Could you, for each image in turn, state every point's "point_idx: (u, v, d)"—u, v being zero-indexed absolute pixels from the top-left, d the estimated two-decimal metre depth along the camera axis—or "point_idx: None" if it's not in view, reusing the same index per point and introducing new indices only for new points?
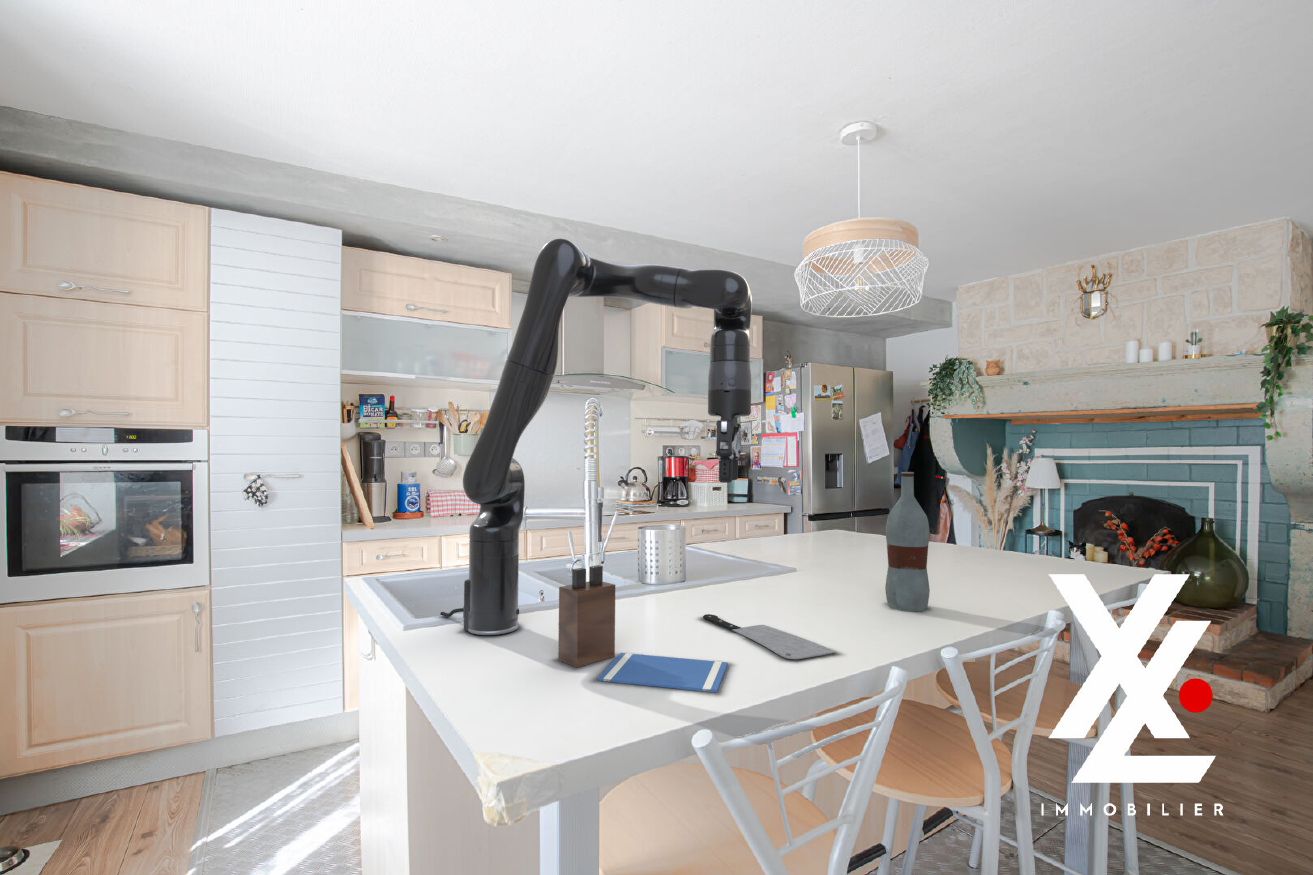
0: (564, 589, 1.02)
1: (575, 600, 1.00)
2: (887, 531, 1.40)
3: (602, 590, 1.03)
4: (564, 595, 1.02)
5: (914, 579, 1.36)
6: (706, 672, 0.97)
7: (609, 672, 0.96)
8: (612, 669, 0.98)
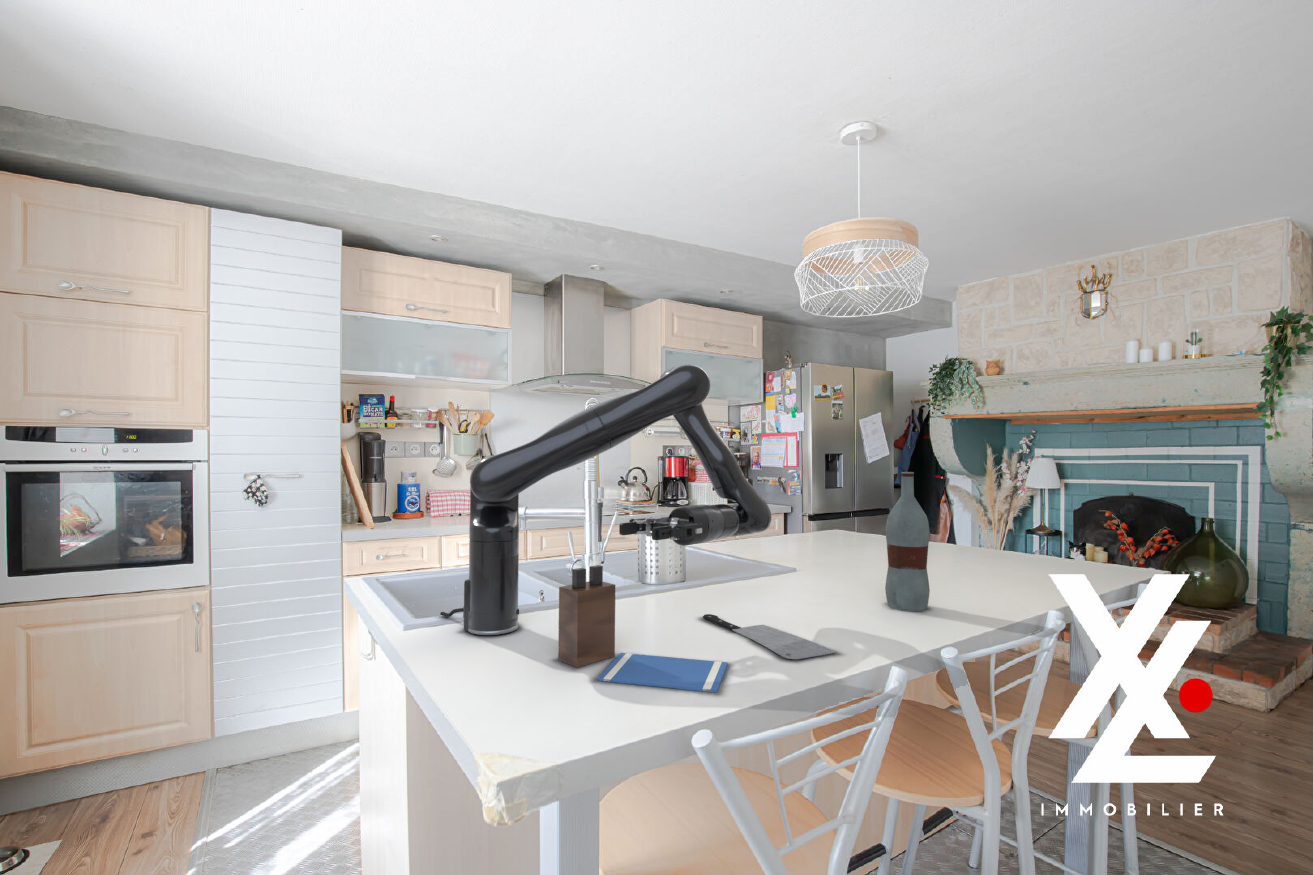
0: (564, 589, 1.02)
1: (575, 600, 1.00)
2: (887, 531, 1.40)
3: (602, 590, 1.03)
4: (564, 595, 1.02)
5: (914, 579, 1.36)
6: (706, 672, 0.97)
7: (609, 672, 0.96)
8: (612, 669, 0.98)
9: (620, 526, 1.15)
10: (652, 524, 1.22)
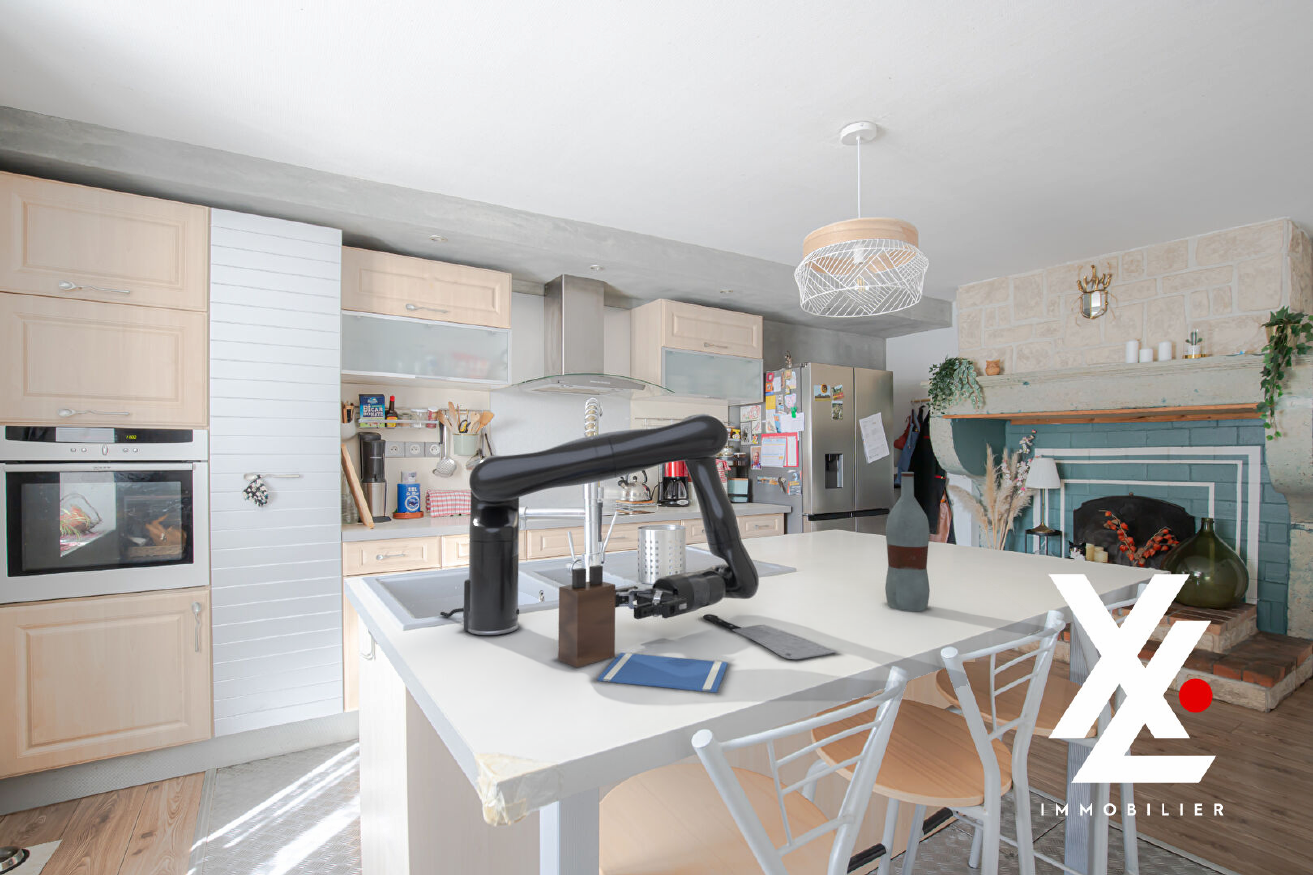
0: (564, 589, 1.02)
1: (575, 600, 1.00)
2: (887, 531, 1.40)
3: (602, 590, 1.03)
4: (564, 595, 1.02)
5: (914, 579, 1.36)
6: (706, 672, 0.97)
7: (609, 672, 0.96)
8: (612, 669, 0.98)
9: None
10: (636, 594, 1.19)
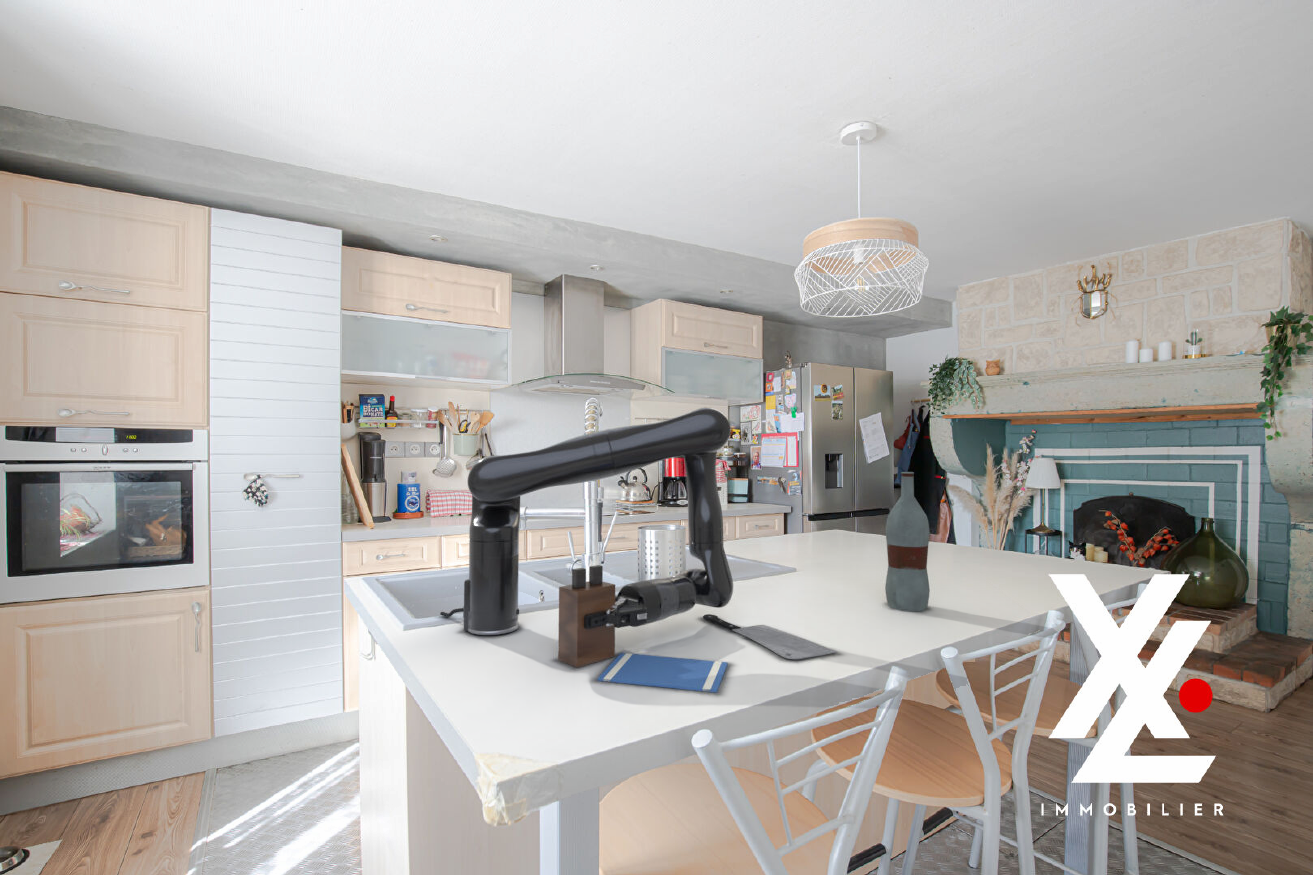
0: (564, 589, 1.02)
1: (575, 600, 1.00)
2: (887, 531, 1.40)
3: (602, 590, 1.03)
4: (564, 595, 1.02)
5: (914, 579, 1.36)
6: (706, 672, 0.97)
7: (609, 672, 0.96)
8: (612, 669, 0.98)
9: None
10: None
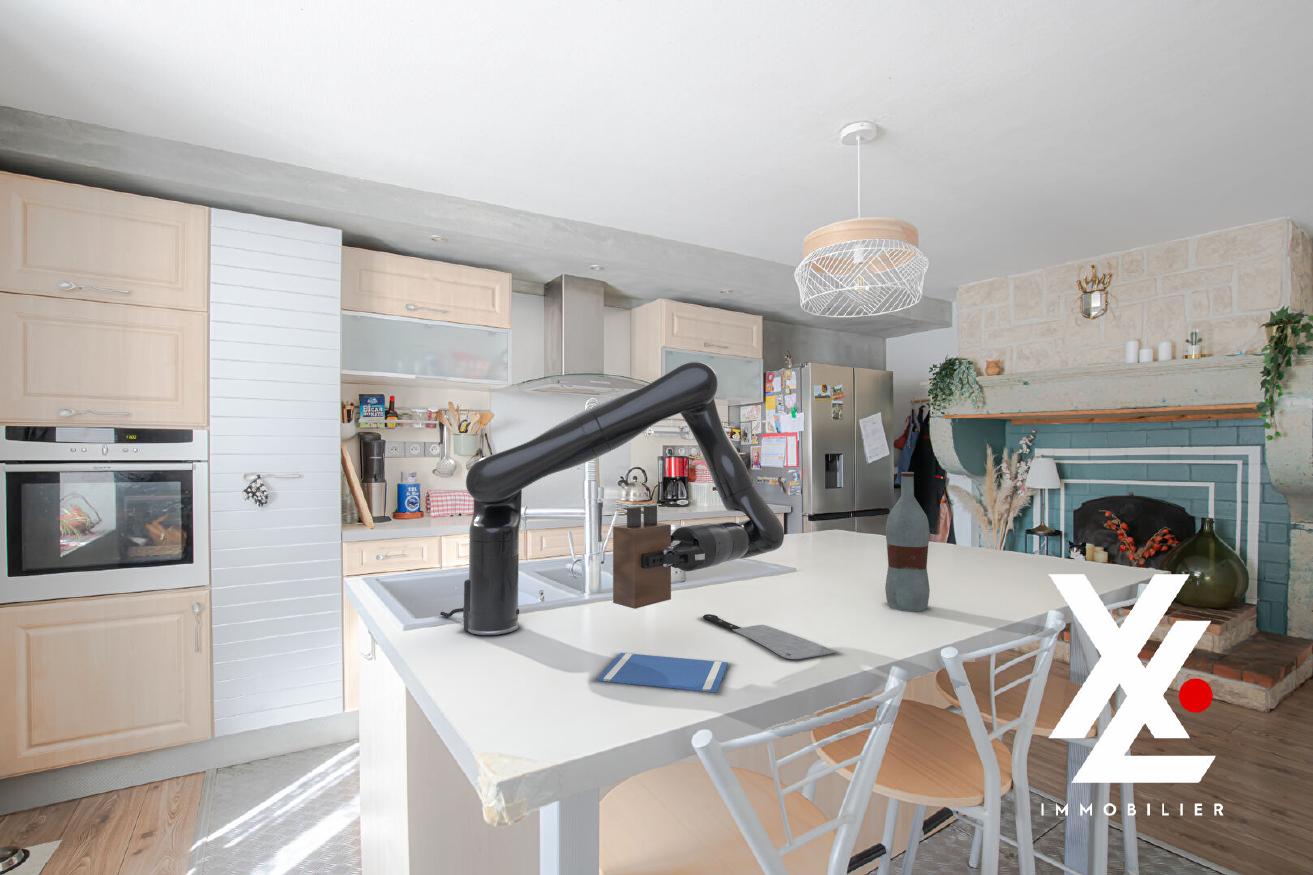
0: (619, 528, 0.97)
1: (632, 538, 0.95)
2: (887, 531, 1.40)
3: (658, 529, 0.98)
4: (619, 534, 0.97)
5: (914, 579, 1.36)
6: (706, 672, 0.97)
7: (609, 672, 0.96)
8: (612, 669, 0.98)
9: None
10: None
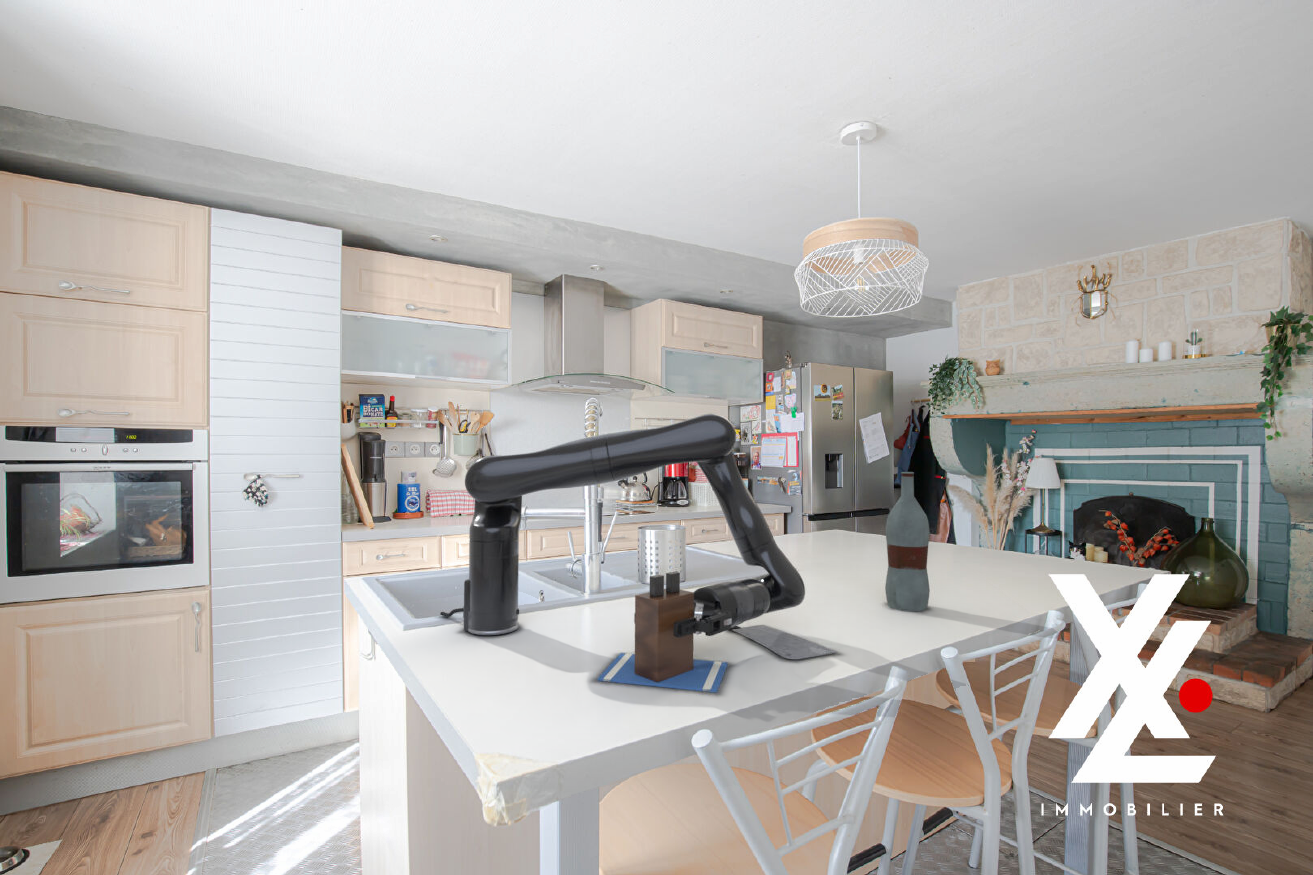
0: (641, 598, 0.95)
1: (656, 610, 0.93)
2: (887, 531, 1.40)
3: (681, 599, 0.96)
4: (641, 604, 0.95)
5: (914, 579, 1.36)
6: (706, 672, 0.97)
7: (609, 672, 0.96)
8: (612, 669, 0.98)
9: None
10: None
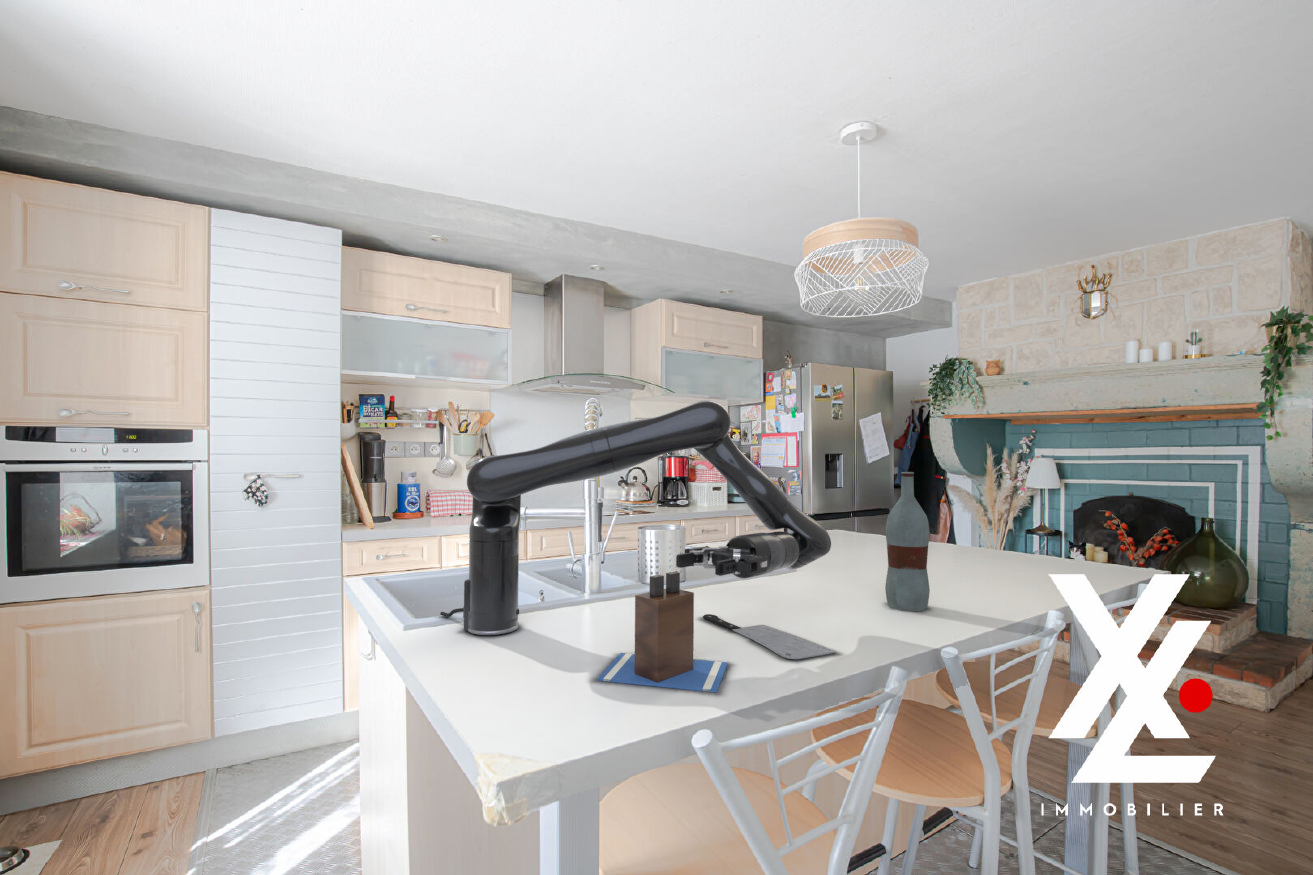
0: (641, 598, 0.95)
1: (656, 610, 0.93)
2: (887, 531, 1.40)
3: (681, 599, 0.96)
4: (641, 604, 0.95)
5: (914, 579, 1.36)
6: (706, 672, 0.97)
7: (609, 672, 0.96)
8: (612, 669, 0.98)
9: (677, 558, 1.06)
10: (708, 554, 1.12)
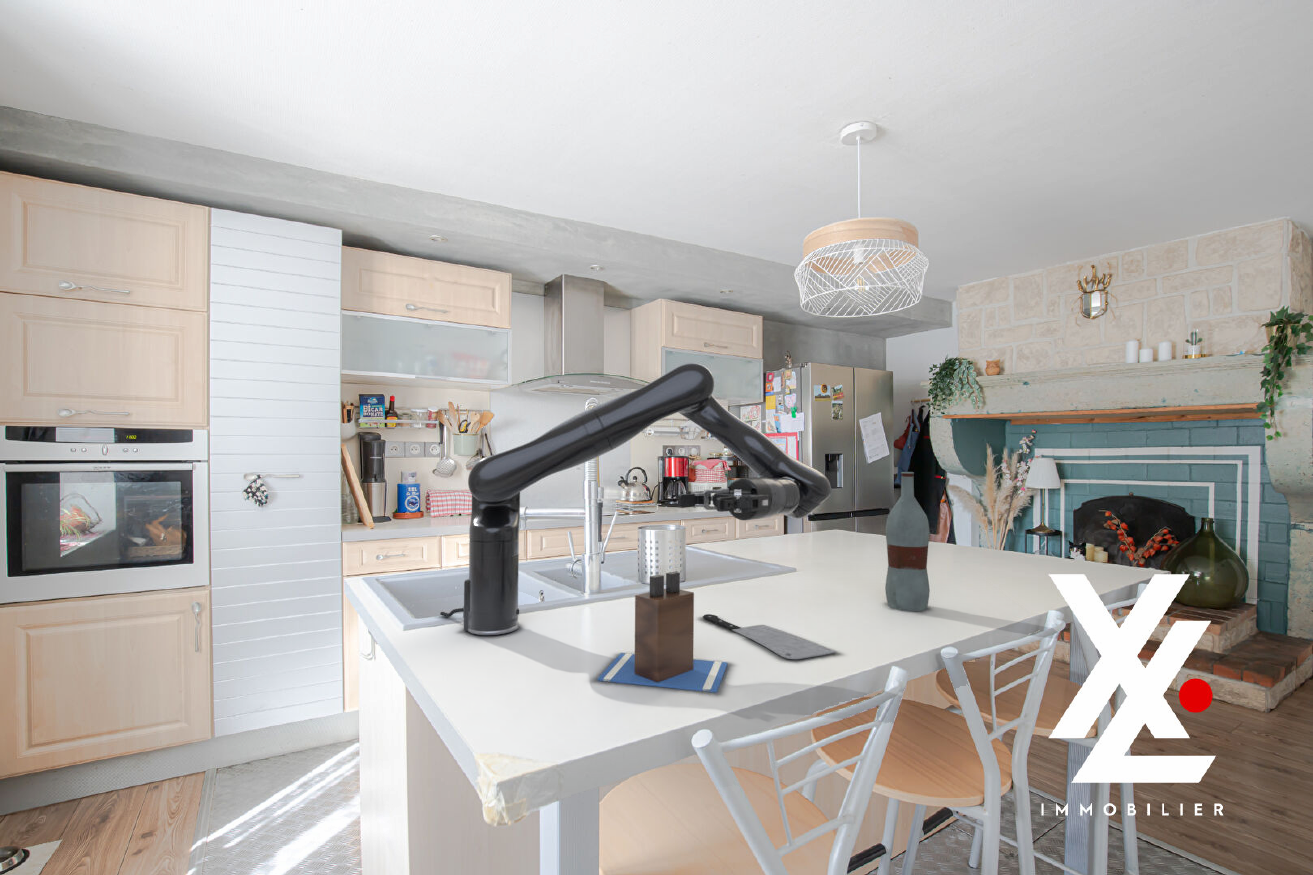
0: (641, 598, 0.95)
1: (656, 610, 0.93)
2: (887, 531, 1.40)
3: (681, 599, 0.96)
4: (641, 604, 0.95)
5: (914, 579, 1.36)
6: (706, 672, 0.97)
7: (609, 672, 0.96)
8: (612, 669, 0.98)
9: (678, 498, 1.06)
10: (709, 497, 1.12)
